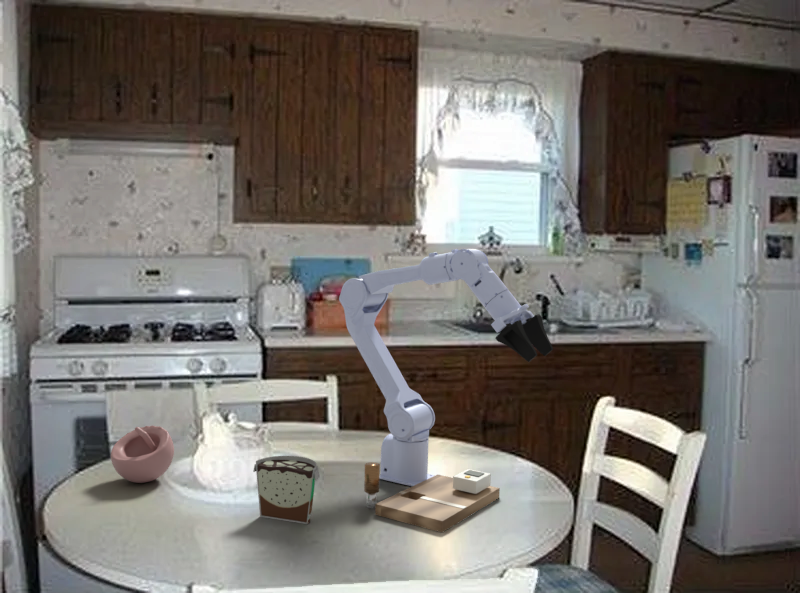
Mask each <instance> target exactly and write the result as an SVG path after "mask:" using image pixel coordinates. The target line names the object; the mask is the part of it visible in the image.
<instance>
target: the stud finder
mask: <svg viewBox="0 0 800 593" xmlns="http://www.w3.org/2000/svg"><path fill="white" fill-rule="evenodd" d="M491 475H492V474H491V473H490V472H484V471H480V470H475V469H470V468H468V469H465V470H463V471H461V472H458V474H455V475H453V476H452V478H453V489H456V490H461V491H465V492H470V493H474V494H477V493H479V492H480V491H482V490H484V489H486V488H487V487H489V486H491V483H492V482H491V477H492V476H491Z"/></svg>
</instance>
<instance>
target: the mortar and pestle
mask: <svg viewBox="0 0 800 593" xmlns="http://www.w3.org/2000/svg"><path fill="white" fill-rule="evenodd" d="M174 446H175V445H174V442H173V439H172V437H171V435H170V434H169V432H168V430H167V429H165V428H164V427H162V426H158V425H157V426H155V425H150V426H149V425H144V426H142V427H139V426H136V427H135V428H134V429H133V430H132V431H130V432H127V433H126V434H125V435H124V436H122V437H121V438H119V439H118V440H117V441H116V443H114V445H113V447H112V449H111V452H110V460H111V461H110V462H111V464H112V467H113V468H114V470H115V471H116V473H117V474H118V475H119V476H121V478H123V479H124V480H126V481H129V482H132V483H135V484H137V483H139V484H142V483H144V484H145V483H149V482H152V481H155V480H157V479H159V478H160V477H161V476H162V475H164V474H165V473H166V472H167V471H168V469H170V466H171V464H172V463H173V460H174V455H175V447H174Z"/></svg>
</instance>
